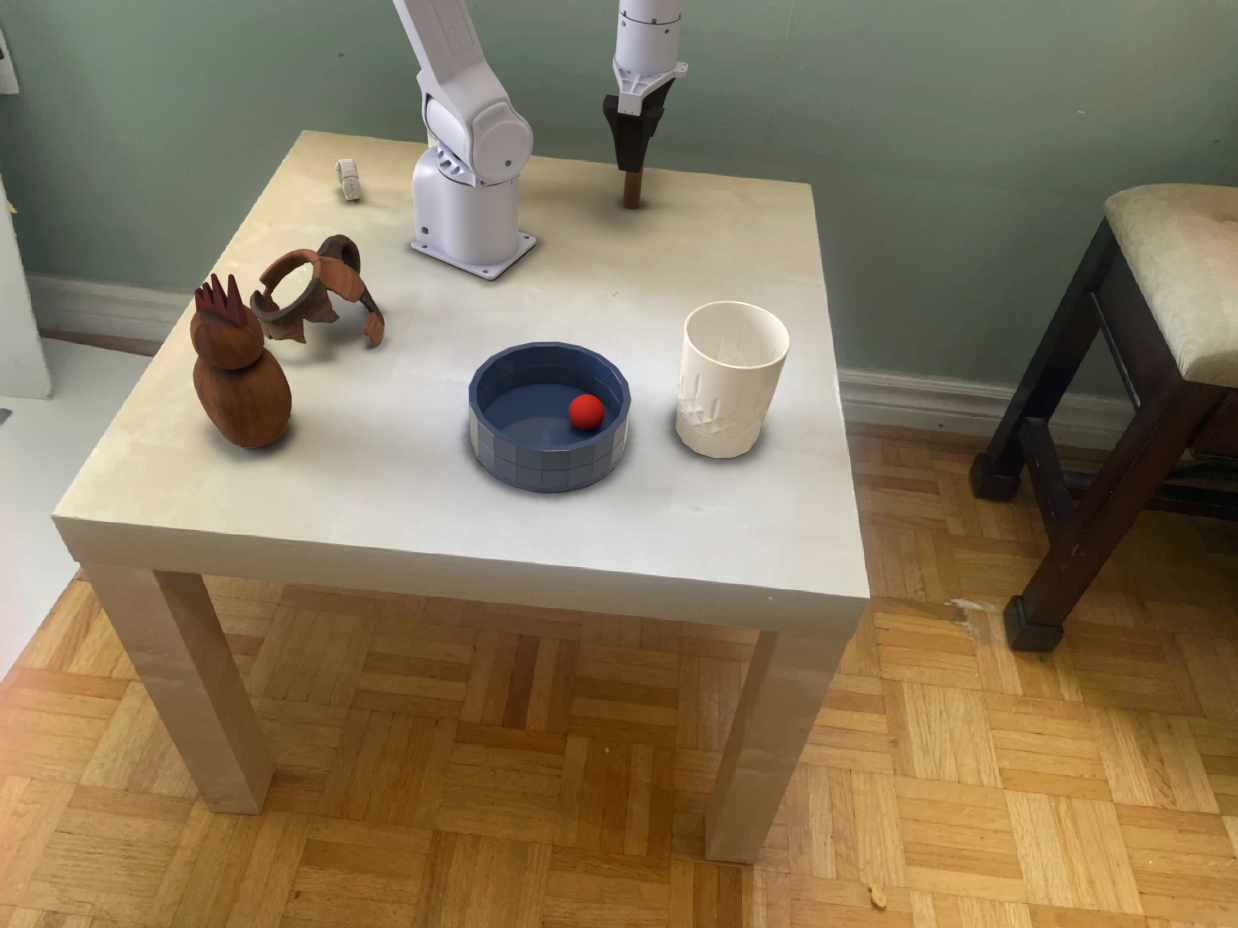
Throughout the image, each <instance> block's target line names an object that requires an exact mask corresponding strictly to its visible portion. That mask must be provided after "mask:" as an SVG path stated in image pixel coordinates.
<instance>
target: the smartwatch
mask: <svg viewBox="0 0 1238 928" xmlns="http://www.w3.org/2000/svg"><path fill="white" fill-rule="evenodd" d="M334 172H336V178H337V179H336V180H337V182H338V183H339V184H340V185H341V186H342V189H343V190H342V191H343V195H344V197H345V199H346V201H352V200H358V199H360V194H361V192H362V190H361V183H360V181H359V179H360V176H359V173H358V167H357V162H356V161H355V160H354V159H353V158H343V159H339V160H338V161H337V162H335V167H334Z"/></svg>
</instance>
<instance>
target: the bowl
mask: <svg viewBox="0 0 1238 928" xmlns="http://www.w3.org/2000/svg"><path fill="white" fill-rule="evenodd" d="M628 382H629V381H627V379H626V377H625V376H624V375H623V373H622V372H621V370H620V369H619V368H618V366H617V365H615V364H614V363H613V362H611V361H610V360H609V359H607V358H606V357H605V356H604V355H602V354H601V353H598V352H596V351H593V350H591V349H589V348H587V347H584V346H582V345H578V344H573V343H567V342H563V341H556V340H555V341H531V342H526V343H522V344H518V345H512V346H509V347H507V348H505V349H503V350H500V351H499V352H497V353H495V354H493V355H490V356H489V357H488V358H487V360H485V361H484V362H483V363H482V364H481V365H480V366H479V367H478V368H476V370H475V372H474V374H473V376H472V378H471V381H470V383H469V385H468V412H469V431H470V433H469V434H470V442H471V446H472V450H473V453H474V454H475V456H476V458H477V460H478V461H479V462H480V464H481V465H482V467H484V468H485V469H486V470H487V471H488V472H489V473H490V474H491V475H493V476H494V477H495V478H497V479H499V480H500V481H502V482H504V483H505V484H508V485H510V486H513V487H514V488H518V489H522V490H526V491H532V492H537V493H563V492H570V491H575V490H579V489H582V488H585V487H588V486H591V485H592V484H594V483H596V482H598V481H599V480H601V479H603V478H604V477H605V476H607V475H608V474H609V473H610V472H611V471H612V470H614V468H615V467H616V466H617V465H618V463H619V461H620V460H621V458H622V456H623V453H624V451H625V448H626V442H627V438H628V431H629V422H630V416H631V409H632V395H631V389H630V385H629V383H628ZM581 395H592V396H594V397H596V398H597V399H599V400H600V402H601V403H602V405H603V407H604V418H603V420H602V422H601V423H600V425H599V426H597V427H596V428H594V429H592V430H581V429H579V428H577V427H575V426H574V425H573V424H572V422H571V420H570V418H569V407H570V404H571V403H572V401H573V400H574V399H575V398H577V397H578V396H581Z"/></svg>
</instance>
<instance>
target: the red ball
mask: <svg viewBox="0 0 1238 928" xmlns="http://www.w3.org/2000/svg"><path fill="white" fill-rule="evenodd" d="M569 418H570V420H571V422H572V424H573V425H574V426H575V427H577V428H579V429H581V430H592V429H594V428H596V427H597V426H599V425H600V423H601V422H602V420H603V418H604V407H603V405H602V403H601V402H600V400H599V399H597V398H596V397H594V396H592V395H581V396H578V397H577V398H575V399H574V400H573V401H572V403H571V404H570V407H569Z"/></svg>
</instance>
